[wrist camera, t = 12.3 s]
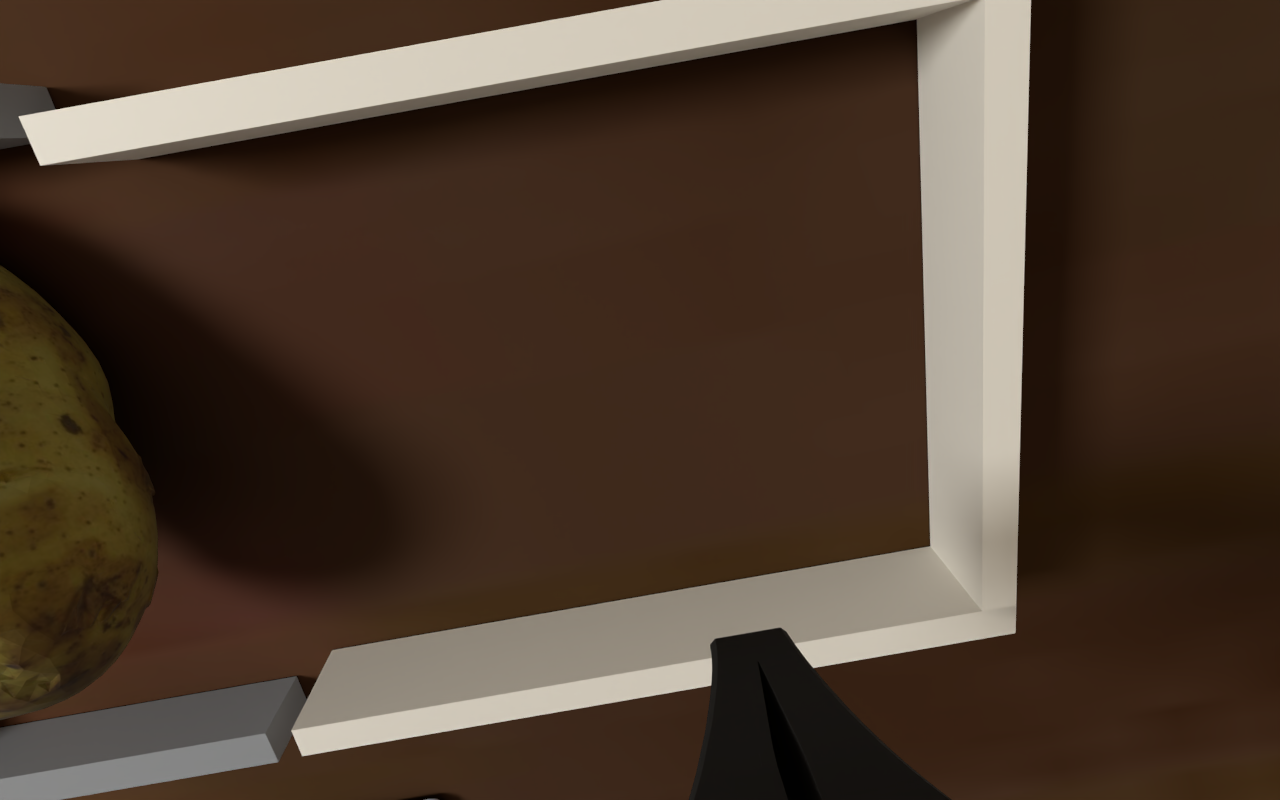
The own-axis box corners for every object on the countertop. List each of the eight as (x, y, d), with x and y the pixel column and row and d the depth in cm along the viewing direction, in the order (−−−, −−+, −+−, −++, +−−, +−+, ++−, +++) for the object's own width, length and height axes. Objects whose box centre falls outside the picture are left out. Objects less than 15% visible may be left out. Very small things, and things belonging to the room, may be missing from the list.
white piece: (959, 566, 25) (1015, 633, 21) (341, 673, 25) (302, 756, 22) (954, -32, 18) (1032, -67, 15) (121, 118, 18) (18, 116, 15)
